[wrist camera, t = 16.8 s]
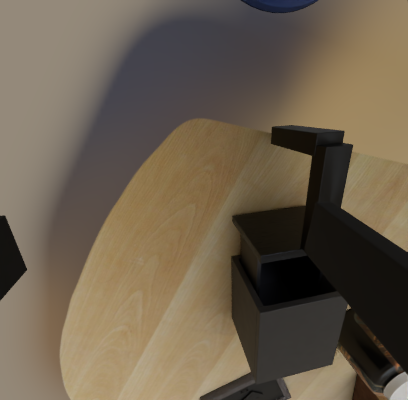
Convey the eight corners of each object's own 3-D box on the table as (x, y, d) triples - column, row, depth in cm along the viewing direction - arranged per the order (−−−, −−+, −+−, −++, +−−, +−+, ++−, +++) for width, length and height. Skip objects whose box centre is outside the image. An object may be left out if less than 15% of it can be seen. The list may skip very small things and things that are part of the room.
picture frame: (221, 423, 63) (288, 391, 64) (223, 432, 61) (292, 399, 62) (200, 397, 57) (274, 361, 57) (201, 406, 55) (278, 369, 55)
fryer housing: (231, 256, 42) (260, 313, 30) (299, 245, 44) (350, 294, 32) (231, 317, 48) (255, 384, 36) (291, 305, 50) (332, 364, 39)
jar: (336, 309, 54) (397, 376, 40) (376, 304, 57) (445, 367, 43) (323, 343, 58) (373, 414, 45) (360, 338, 61) (419, 404, 47)
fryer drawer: (231, 128, 33) (275, 139, 21) (318, 122, 35) (402, 128, 23) (232, 287, 44) (261, 354, 32) (297, 275, 46) (346, 333, 34)
